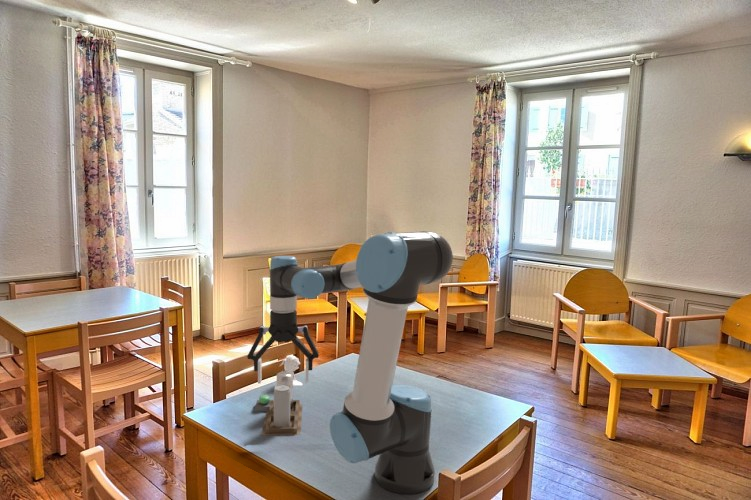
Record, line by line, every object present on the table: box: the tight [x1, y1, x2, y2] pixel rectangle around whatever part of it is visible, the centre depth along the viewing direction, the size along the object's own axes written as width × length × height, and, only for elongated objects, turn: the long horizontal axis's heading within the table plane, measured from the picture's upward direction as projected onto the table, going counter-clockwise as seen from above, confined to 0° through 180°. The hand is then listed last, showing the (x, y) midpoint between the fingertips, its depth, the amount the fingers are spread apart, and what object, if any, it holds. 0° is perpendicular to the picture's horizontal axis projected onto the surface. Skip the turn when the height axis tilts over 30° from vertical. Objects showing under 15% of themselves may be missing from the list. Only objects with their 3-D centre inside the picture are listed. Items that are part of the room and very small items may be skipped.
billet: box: [276, 370, 294, 411], centre depth 159 cm, size 5×5×12 cm
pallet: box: [254, 399, 303, 436], centre depth 155 cm, size 20×14×3 cm
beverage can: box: [273, 384, 291, 427], centre depth 149 cm, size 5×5×12 cm
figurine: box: [279, 355, 303, 386], centre depth 180 cm, size 9×9×12 cm
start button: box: [258, 394, 271, 404], centre depth 161 cm, size 3×3×2 cm
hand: (283, 381), depth 148 cm, fingers open, 13 cm apart
